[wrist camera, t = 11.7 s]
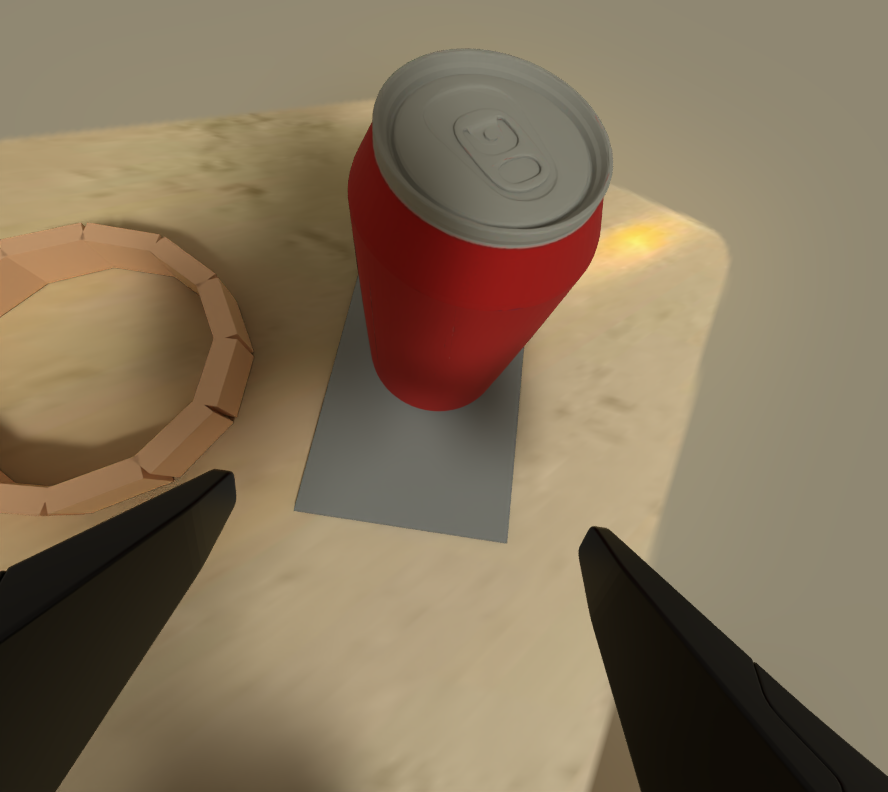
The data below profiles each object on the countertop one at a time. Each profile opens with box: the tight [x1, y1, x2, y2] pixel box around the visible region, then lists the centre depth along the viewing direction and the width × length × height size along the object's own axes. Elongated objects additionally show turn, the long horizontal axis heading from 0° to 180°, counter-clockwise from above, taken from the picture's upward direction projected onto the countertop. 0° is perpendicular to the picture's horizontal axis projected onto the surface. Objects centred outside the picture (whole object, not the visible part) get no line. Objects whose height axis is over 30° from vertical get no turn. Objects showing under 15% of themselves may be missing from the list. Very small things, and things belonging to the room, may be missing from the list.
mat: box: [294, 274, 524, 543], centre depth 19 cm, size 18×10×1 cm, turn 171°
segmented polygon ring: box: [0, 223, 254, 516], centre depth 16 cm, size 13×13×2 cm
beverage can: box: [348, 49, 613, 411], centre depth 13 cm, size 7×7×12 cm
